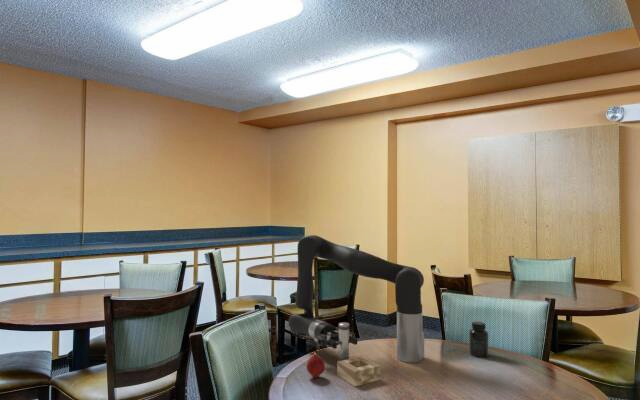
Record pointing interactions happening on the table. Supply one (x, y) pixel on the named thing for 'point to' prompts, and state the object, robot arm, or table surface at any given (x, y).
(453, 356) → the table surface
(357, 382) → the square ring gauge
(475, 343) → the supplement bottle
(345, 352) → the cylinder
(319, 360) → the onion
